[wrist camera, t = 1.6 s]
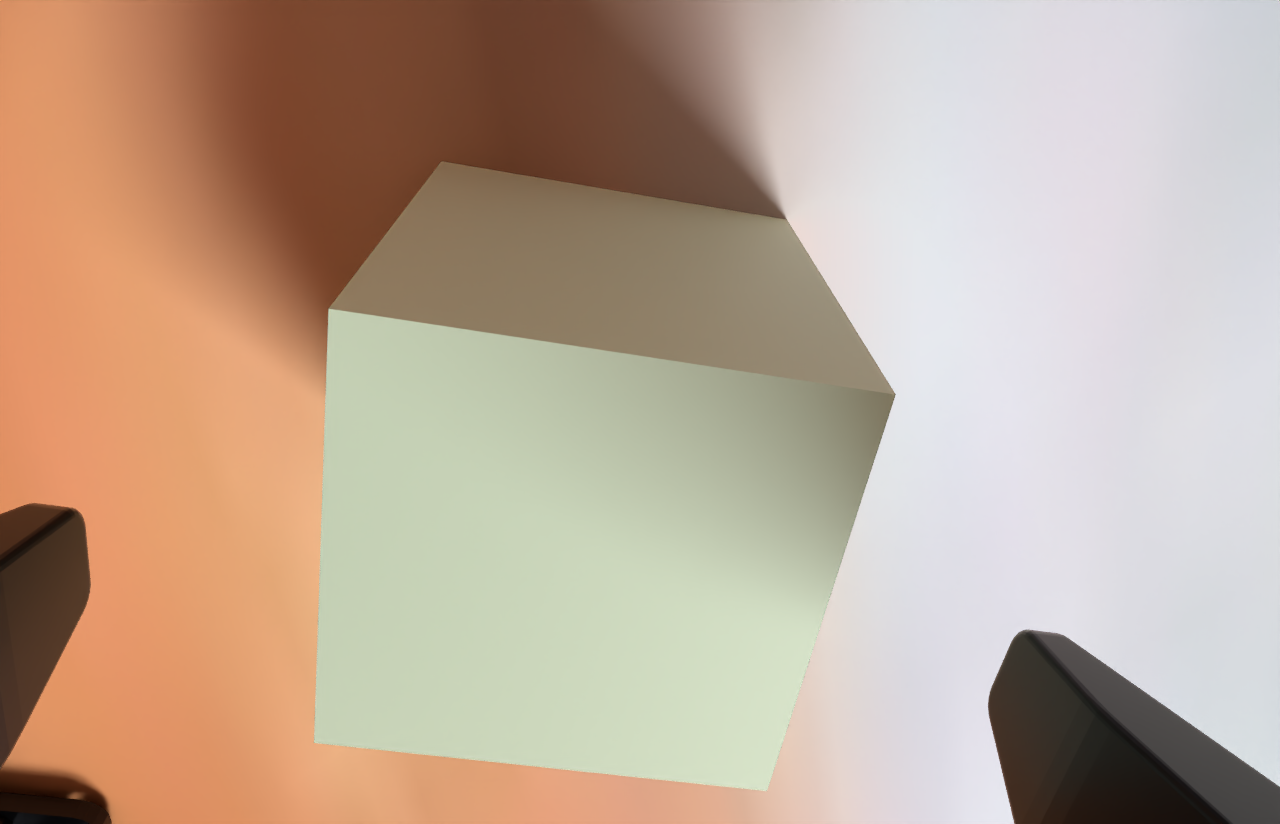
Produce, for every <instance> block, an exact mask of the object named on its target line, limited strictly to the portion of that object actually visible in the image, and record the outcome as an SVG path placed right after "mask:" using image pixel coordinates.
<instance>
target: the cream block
mask: <svg viewBox="0 0 1280 824" xmlns="http://www.w3.org/2000/svg"><path fill="white" fill-rule="evenodd" d="M895 395H896V394H895V393H894V391H893V390H892V388H891V386H890V385H889V383H888V382H887V380H886V378H885V377H884V375H883V374H882V372H881V370H880V369H879V367H878V366H877V364H876V362H875V361H874V359H873V357H872V356H871V354H870V353H869V351H868V349H867V348H866V346H865V345H864V343H863V341H862V340H861V338H860V337H859V335H858V333H857V332H856V330H855V329H854V327H853V325H852V324H851V322H850V320H849V319H848V317H847V316H846V314H845V312H844V311H843V309H842V308H841V306H840V304H839V303H838V301H837V300H836V298H835V296H834V295H833V293H832V292H831V290H830V288H829V287H828V285H827V283H826V282H825V280H824V279H823V277H822V275H821V274H820V272H819V271H818V269H817V267H816V266H815V264H814V263H813V261H812V259H811V258H810V256H809V255H808V253H807V251H806V250H805V248H804V246H803V245H802V243H801V242H800V240H799V238H798V237H797V235H796V234H795V232H794V230H793V229H792V227H791V226H790V224H789V222H788V221H787V219H781V218H775V217H769V216H763V215H757V214H751V213H745V212H739V211H733V210H727V209H722V208H716V207H710V206H704V205H698V204H692V203H686V202H680V201H674V200H668V199H662V198H656V197H651V196H645V195H639V194H633V193H627V192H621V191H615V190H609V189H603V188H597V187H591V186H585V185H580V184H574V183H568V182H562V181H556V180H550V179H544V178H538V177H532V176H526V175H520V174H514V173H508V172H503V171H497V170H491V169H485V168H479V167H473V166H467V165H461V164H455V163H449V162H443V161H441V162H440V164H439V165H438V166H437V168H436V169H435V170H434V172H433V173H432V174H431V176H430V177H429V178H428V179H427V181H426V182H425V183H424V185H423V186H422V187H421V189H420V190H419V191H418V192H417V194H416V195H415V196H414V198H413V199H412V200H411V202H410V203H409V204H408V206H407V207H406V208H405V209H404V211H403V212H402V213H401V215H400V216H399V217H398V219H397V220H396V221H395V223H394V224H393V225H392V226H391V228H390V229H389V230H388V232H387V233H386V234H385V236H384V237H383V238H382V239H381V241H380V242H379V243H378V245H377V246H376V247H375V249H374V250H373V251H372V253H371V254H370V255H369V256H368V258H367V259H366V260H365V262H364V263H363V264H362V266H361V267H360V268H359V269H358V271H357V272H356V273H355V275H354V276H353V277H352V279H351V280H350V281H349V283H348V284H347V285H346V286H345V288H344V289H343V290H342V292H341V293H340V294H339V296H338V297H337V298H336V300H335V301H334V302H333V303H332V305H331V306H330V307H329V309H328V339H327V369H326V400H325V430H324V460H323V490H322V520H321V551H320V581H319V611H318V641H317V671H316V701H315V732H314V743H321V744H330V745H339V746H349V747H358V748H368V749H377V750H386V751H396V752H405V753H414V754H424V755H433V756H443V757H452V758H461V759H471V760H480V761H490V762H499V763H508V764H518V765H527V766H536V767H546V768H555V769H565V770H574V771H583V772H593V773H602V774H612V775H621V776H630V777H640V778H649V779H659V780H668V781H677V782H687V783H696V784H705V785H715V786H724V787H734V788H743V789H752V790H762V791H767V790H768V786H769V783H770V780H771V777H772V774H773V771H774V768H775V765H776V762H777V759H778V756H779V752H780V749H781V746H782V743H783V740H784V737H785V734H786V731H787V728H788V725H789V722H790V719H791V715H792V712H793V709H794V706H795V703H796V700H797V697H798V694H799V691H800V688H801V685H802V682H803V678H804V675H805V672H806V669H807V666H808V663H809V660H810V657H811V654H812V651H813V648H814V645H815V641H816V638H817V635H818V632H819V629H820V626H821V623H822V620H823V617H824V614H825V611H826V608H827V604H828V601H829V598H830V595H831V592H832V589H833V586H834V583H835V580H836V577H837V574H838V571H839V567H840V564H841V561H842V558H843V555H844V552H845V549H846V546H847V543H848V540H849V537H850V533H851V530H852V527H853V524H854V521H855V518H856V515H857V512H858V509H859V506H860V503H861V500H862V496H863V493H864V490H865V487H866V484H867V481H868V478H869V475H870V472H871V469H872V466H873V463H874V459H875V456H876V453H877V450H878V447H879V444H880V441H881V438H882V435H883V432H884V429H885V426H886V422H887V419H888V416H889V413H890V410H891V407H892V404H893V401H894V398H895Z"/></svg>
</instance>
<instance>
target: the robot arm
mask: <svg viewBox="0 0 1280 824" xmlns="http://www.w3.org/2000/svg"><path fill="white" fill-rule="evenodd" d="M90 585H91V583H90V570H89V559H88V548H87V537H86V527H85V522H84V518H83V516H82V514H81V513H80V512H79V511H77V510H76V509H74V508H69V507H61V506H54V505H46V504H38V503H32V504H27V505H24V506H21V507H18V508H16V509H13V510H10V511H8V512H5V513H2V514H0V769H1V768H2V766H3V765H4V763H5V761H6V760H7V758H8V757H9V755H10V753H11V751H12V750H13V748H14V746H15V744H16V742H17V740H18V739H19V737H20V735H21V733H22V731H23V729H24V728H25V726H26V724H27V722H28V720H29V718H30V716H31V714H32V712H33V710H34V708H35V706H36V704H37V702H38V700H39V698H40V696H41V694H42V692H43V690H44V688H45V686H46V684H47V682H48V680H49V678H50V676H51V674H52V672H53V671H54V669H55V667H56V665H57V663H58V661H59V659H60V657H61V655H62V653H63V651H64V649H65V647H66V645H67V643H68V641H69V639H70V637H71V635H72V633H73V631H74V629H75V627H76V625H77V623H78V621H79V619H80V617H81V615H82V614H83V612H84V609H85V607H86V604H87V601H88V598H89V593H90ZM988 710H989V718H990V722H991V726H992V730H993V735H994V739H995V743H996V747H997V752H998V756H999V760H1000V764H1001V769H1002V773H1003V777H1004V781H1005V786H1006V790H1007V794H1008V798H1009V802H1010V807H1011V811H1012V815H1013V819H1014V824H1280V787H1279V786H1278V785H1276V784H1275V783H1274V782H1272V781H1271V780H1269V779H1268V778H1266V777H1265V776H1264V775H1262V774H1261V773H1259V772H1258V771H1256V770H1255V769H1254V768H1252V767H1251V766H1249V765H1248V764H1246V763H1245V762H1244V761H1242V760H1241V759H1239V758H1238V757H1237V756H1235V755H1234V754H1232V753H1231V752H1229V751H1228V750H1227V749H1225V748H1224V747H1222V746H1221V745H1219V744H1218V743H1217V742H1215V741H1214V740H1212V739H1211V738H1209V737H1208V736H1207V735H1205V734H1204V733H1202V732H1201V731H1200V730H1198V729H1197V728H1195V727H1194V726H1192V725H1191V724H1190V723H1188V722H1187V721H1185V720H1184V719H1182V718H1181V717H1180V716H1178V715H1177V714H1175V713H1174V712H1172V711H1171V710H1170V709H1168V708H1167V707H1165V706H1164V705H1162V704H1161V703H1160V702H1158V701H1157V700H1155V699H1154V698H1153V697H1151V696H1150V695H1148V694H1147V693H1145V692H1144V691H1143V690H1141V689H1140V688H1138V687H1137V686H1135V685H1134V684H1133V683H1131V682H1130V681H1128V680H1127V679H1125V678H1124V677H1123V676H1121V675H1120V674H1118V673H1117V672H1115V671H1114V670H1113V669H1111V668H1110V667H1108V666H1107V665H1106V664H1104V663H1103V662H1101V661H1100V660H1098V659H1097V658H1096V657H1094V656H1093V655H1091V654H1090V653H1088V652H1087V651H1086V650H1084V649H1083V648H1081V647H1080V646H1078V645H1077V644H1076V643H1074V642H1073V641H1071V640H1070V639H1069V638H1067V637H1065V636H1064V635H1061V634H1058V633H1051V632H1043V631H1035V630H1023V631H1021V632H1019V633H1018V634H1017V635H1016V636H1015V637H1014V638H1013V640H1012V642H1011V644H1010V647H1009V649H1008V651H1007V653H1006V656H1005V658H1004V660H1003V663H1002V665H1001V667H1000V669H999V672H998V674H997V676H996V679H995V681H994V683H993V685H992V688H991V691H990V695H989V702H988ZM0 824H112V822H111V819H110V816H109V814H108V813H107V812H106V811H105V810H104V809H103V808H102V807H100V806H98V805H96V804H95V803H92V802H88V801H83V800H74V799H64V798H54V797H44V796H34V795H24V794H14V793H4V792H0Z"/></svg>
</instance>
